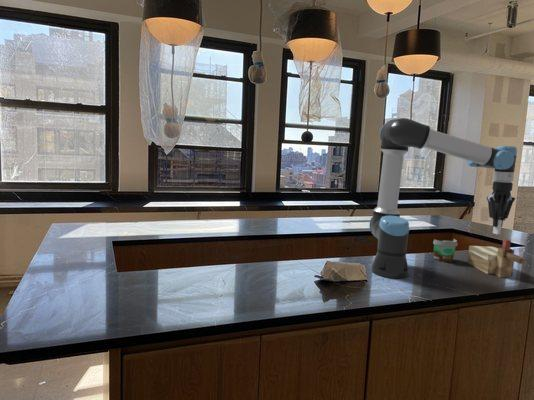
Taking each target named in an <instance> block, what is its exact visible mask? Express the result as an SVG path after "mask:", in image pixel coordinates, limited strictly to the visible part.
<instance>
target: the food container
mask: <svg viewBox="0 0 534 400" xmlns="http://www.w3.org/2000/svg"><path fill="white" fill-rule="evenodd" d="M432 244H433V260H434V259H435V260H434V261H437V260H438V262H442V261H444V262H443V263H451V261H452V262H453V259H454V256H455V252H456V247H458V240H457V239H455V238H453V240H447V239H446V240H445V239H444V240H443V239H442V240H438V239H435V238H434V239H433V242H432Z"/></svg>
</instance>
